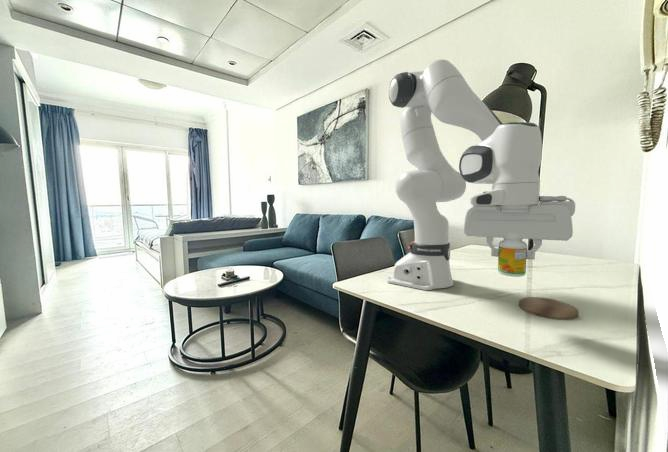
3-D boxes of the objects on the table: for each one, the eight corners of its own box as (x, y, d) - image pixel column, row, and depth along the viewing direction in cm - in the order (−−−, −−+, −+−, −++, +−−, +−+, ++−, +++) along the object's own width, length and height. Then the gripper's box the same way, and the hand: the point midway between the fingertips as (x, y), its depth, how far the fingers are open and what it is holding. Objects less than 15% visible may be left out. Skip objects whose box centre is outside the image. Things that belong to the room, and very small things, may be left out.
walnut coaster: (520, 313, 68) (520, 309, 68) (517, 298, 78) (518, 294, 78) (584, 323, 62) (584, 319, 62) (572, 305, 72) (572, 301, 72)
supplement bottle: (492, 271, 65) (493, 230, 64) (513, 269, 65) (515, 230, 64) (508, 277, 60) (510, 234, 59) (531, 276, 60) (533, 233, 59)
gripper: (572, 195, 58) (568, 258, 59) (466, 197, 68) (465, 251, 70) (579, 195, 53) (574, 265, 54) (463, 198, 63) (462, 256, 65)
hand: (512, 257), depth 62 cm, fingers closed on supplement bottle, 5 cm apart
